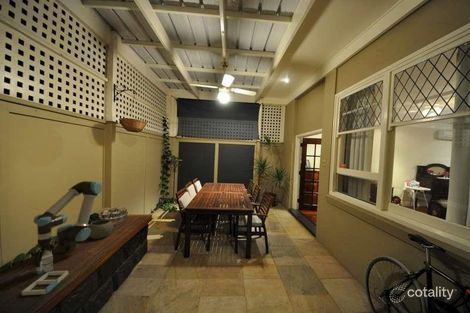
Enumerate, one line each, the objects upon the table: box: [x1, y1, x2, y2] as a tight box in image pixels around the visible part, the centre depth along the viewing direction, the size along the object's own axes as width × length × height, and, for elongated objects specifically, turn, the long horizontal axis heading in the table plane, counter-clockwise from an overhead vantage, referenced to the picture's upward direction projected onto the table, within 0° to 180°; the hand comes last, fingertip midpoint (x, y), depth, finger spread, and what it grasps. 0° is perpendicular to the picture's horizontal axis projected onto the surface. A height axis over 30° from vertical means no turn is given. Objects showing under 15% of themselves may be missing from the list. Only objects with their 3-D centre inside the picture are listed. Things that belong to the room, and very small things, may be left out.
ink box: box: [36, 250, 54, 276], centre depth 148 cm, size 9×5×15 cm, turn 141°
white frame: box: [21, 270, 69, 296], centre depth 135 cm, size 20×14×4 cm
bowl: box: [88, 219, 114, 240], centre depth 210 cm, size 23×23×15 cm
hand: (44, 266), depth 148 cm, fingers closed on ink box, 9 cm apart
